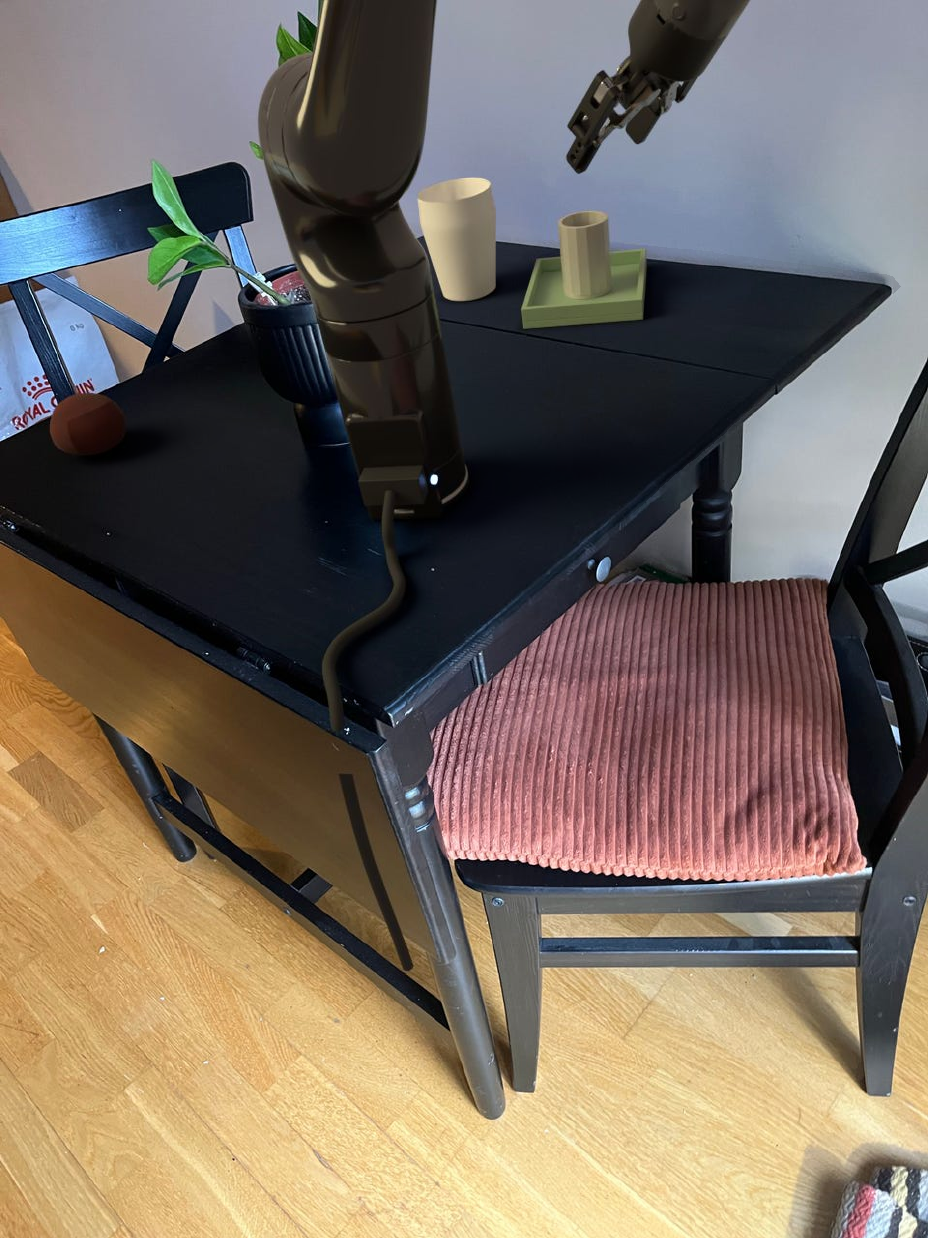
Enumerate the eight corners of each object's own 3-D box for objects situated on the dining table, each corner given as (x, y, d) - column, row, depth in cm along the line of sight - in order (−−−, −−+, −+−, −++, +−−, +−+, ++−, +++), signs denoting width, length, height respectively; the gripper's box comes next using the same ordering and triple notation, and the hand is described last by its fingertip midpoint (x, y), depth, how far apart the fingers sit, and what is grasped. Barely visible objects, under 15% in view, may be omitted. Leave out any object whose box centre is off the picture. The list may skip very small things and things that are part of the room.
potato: (76, 478, 92) (49, 425, 88) (53, 451, 98) (28, 400, 94) (144, 449, 95) (121, 396, 91) (118, 424, 101) (96, 373, 97)
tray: (642, 319, 100) (642, 298, 99) (523, 328, 103) (521, 308, 102) (646, 267, 111) (646, 248, 110) (538, 277, 114) (536, 258, 113)
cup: (495, 304, 110) (481, 199, 102) (424, 307, 112) (405, 205, 105) (512, 274, 116) (500, 173, 108) (444, 278, 119) (428, 180, 111)
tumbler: (610, 297, 104) (606, 224, 99) (562, 301, 105) (555, 229, 100) (613, 278, 108) (609, 208, 103) (566, 282, 109) (560, 213, 104)
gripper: (719, -58, 77) (627, 99, 91) (607, -15, 71) (528, 145, 85) (776, 11, 76) (674, 156, 91) (668, 59, 70) (578, 207, 85)
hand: (604, 151), depth 88 cm, fingers open, 8 cm apart
